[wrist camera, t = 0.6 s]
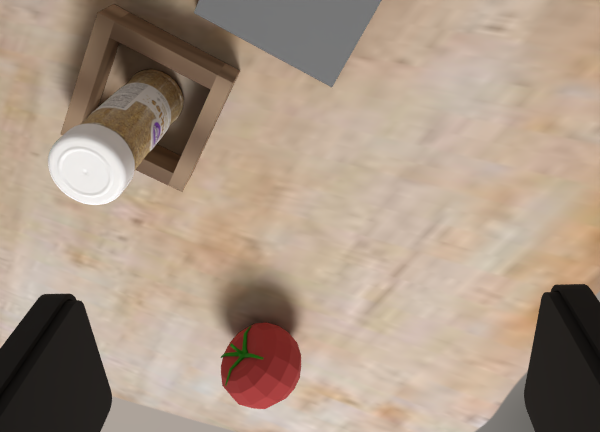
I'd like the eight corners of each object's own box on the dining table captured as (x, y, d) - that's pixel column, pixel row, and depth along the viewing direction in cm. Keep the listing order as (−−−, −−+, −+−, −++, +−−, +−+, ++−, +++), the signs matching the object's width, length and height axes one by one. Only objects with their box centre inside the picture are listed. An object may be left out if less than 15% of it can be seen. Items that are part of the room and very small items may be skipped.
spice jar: (190, 121, 44) (133, 206, 32) (135, 125, 44) (59, 209, 33) (177, 64, 41) (112, 132, 30) (119, 69, 42) (33, 138, 30)
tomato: (291, 431, 49) (230, 396, 45) (243, 409, 55) (185, 376, 51) (329, 349, 52) (274, 310, 48) (279, 336, 58) (227, 300, 54)
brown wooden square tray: (113, 4, 40) (97, 12, 37) (240, 70, 41) (232, 83, 39) (77, 119, 44) (60, 134, 42) (191, 175, 46) (182, 191, 44)
